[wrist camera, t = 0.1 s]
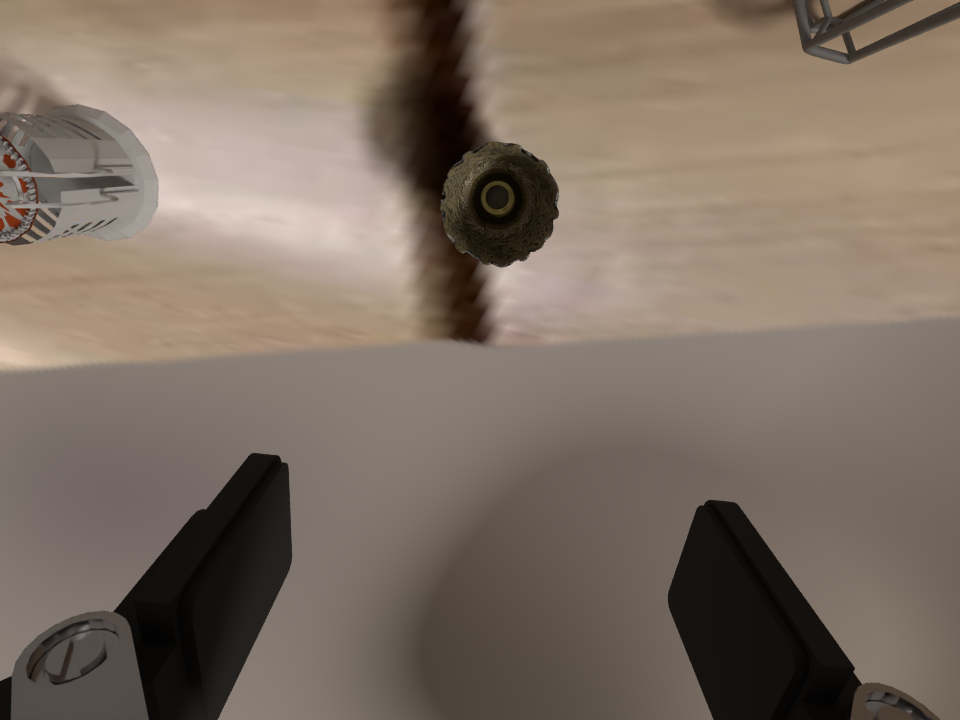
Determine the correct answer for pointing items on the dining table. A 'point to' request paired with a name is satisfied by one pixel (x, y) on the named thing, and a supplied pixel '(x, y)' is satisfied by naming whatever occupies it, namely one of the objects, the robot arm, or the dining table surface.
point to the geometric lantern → (856, 20)
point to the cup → (505, 228)
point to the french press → (74, 177)
